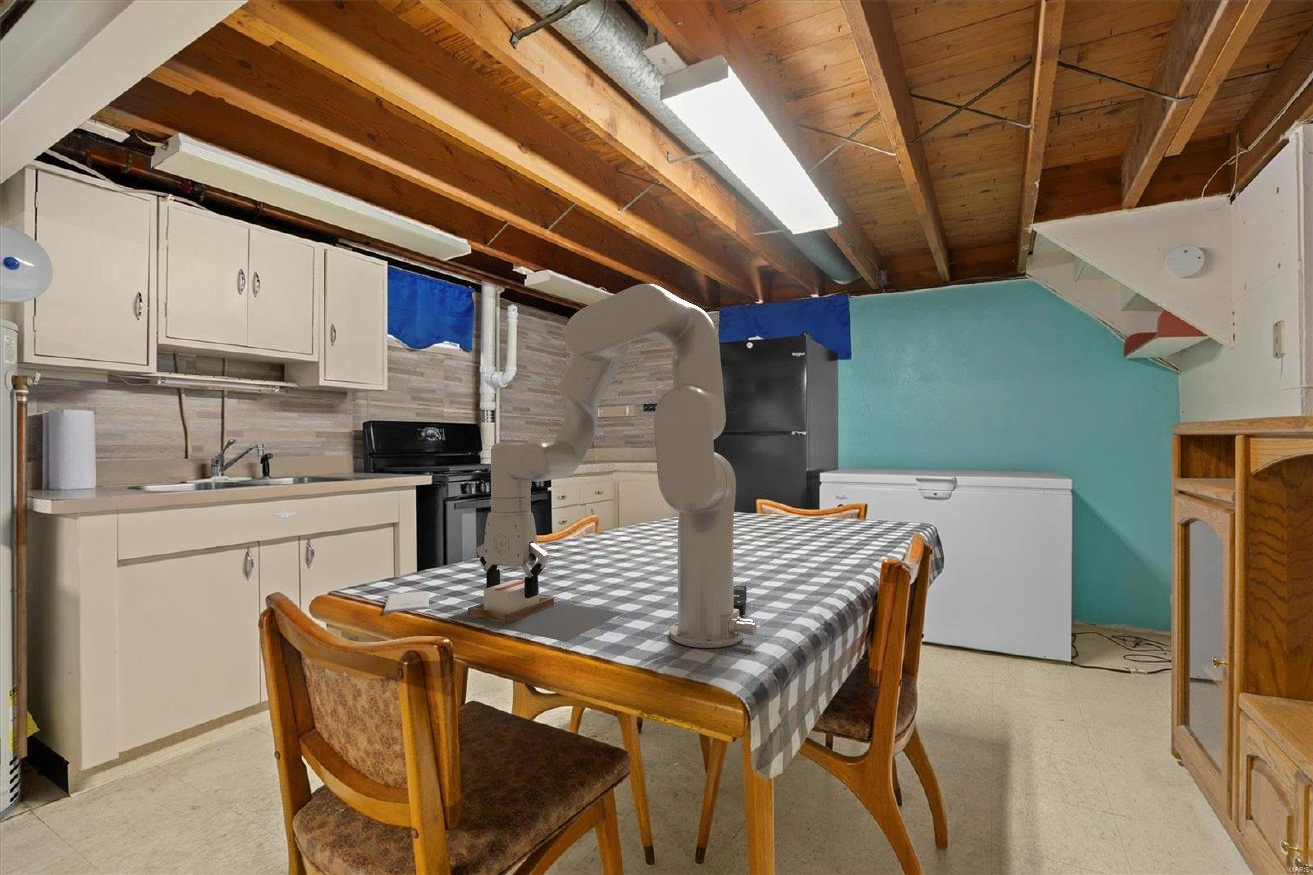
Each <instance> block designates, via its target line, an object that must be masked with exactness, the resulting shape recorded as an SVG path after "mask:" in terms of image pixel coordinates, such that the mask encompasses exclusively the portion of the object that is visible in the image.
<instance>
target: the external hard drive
mask: <svg viewBox="0 0 1313 875" xmlns="http://www.w3.org/2000/svg"><path fill="white" fill-rule="evenodd" d="M429 604H430V591H427V590H426V591H415V592H414V591H413V592H402V593H401V592H400V593H392V594H389V595H388V596H387V599H386V603H385V606H384V610H383V616H387V615H390V614H394V613H397V612H407V611H409V612H410V611H417V610H428V609H429V608H430V606H429Z"/></svg>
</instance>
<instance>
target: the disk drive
mask: <svg viewBox="0 0 1313 875" xmlns="http://www.w3.org/2000/svg"><path fill="white" fill-rule="evenodd" d="M746 603H747V586H746V585H734V609H739V615H745V616H746V605H747V604H746ZM745 604H746V605H745Z"/></svg>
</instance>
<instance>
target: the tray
mask: <svg viewBox="0 0 1313 875" xmlns="http://www.w3.org/2000/svg"><path fill="white" fill-rule="evenodd" d="M554 602H555V598H554V597H550V596H543V595H539V602H537V603H535V604H532V605H529V606H527V607H524V608H521V609H519V610H516V611H513V612H511V613H502V612H497V611H491V610H485V609H484V602H482V603H479V604H475V605H473V606H470V607H468V608H467V611H468V617H473V618H479V619H484V620H489V621H495V622H500V623H505V624H510V623H512V622H515V621H517V620H520V619H522V618H525V617H527V616H530V615H533V614H535V613H538V612H540V611H543V610H545V609H548V608H550V607H553V606H554Z"/></svg>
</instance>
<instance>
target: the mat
mask: <svg viewBox="0 0 1313 875" xmlns="http://www.w3.org/2000/svg"><path fill="white" fill-rule="evenodd" d="M623 614H624V612H622V611H615V610H608V609H602V608H597V607H588V606H582V605H577V604H576V605H575V604H569V603H564V602H559V601H557V602H556V601H554V606H553V607H550V608H548V609H545V610H543V611H540V612H538V613H535V614H533V615H530V616H527V617H525V618H522V619H520V620H517V621H515V622H512V623H510V624H505V623H500V622H495V621H489V620H484V619H479V618H473V617H468V610H465V611H463V612H461V613H460V612H459V613H457V614H454V615H451V616H447V619H450V620H454V621H461V622H466V623H471V624H475V625H481V626H486V627H492V628H496V629H500V630H506V631H512V632H517V633H523V634H528V635H532V636H537V637H542V638H549V639H553V640H559V641H564V642H568V641H570V640H572V639H574V638H576V637H578V636H579V635H582V634H584V633H586V632H588V631H590V630H592V629H594V628H597V627H598V626H601V625H602V624H604V623H606V622H608V621H610V620H612V619H613V620H614V619H615V618H617V617H619V616H621V615H623Z"/></svg>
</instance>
